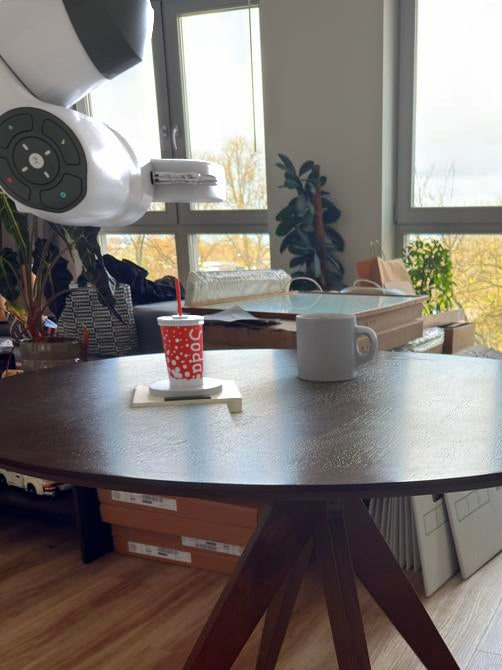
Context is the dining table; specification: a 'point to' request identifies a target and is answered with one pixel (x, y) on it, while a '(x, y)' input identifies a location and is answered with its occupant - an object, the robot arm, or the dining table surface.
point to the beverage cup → (183, 346)
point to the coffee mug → (331, 346)
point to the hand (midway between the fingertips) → (142, 186)
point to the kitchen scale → (188, 394)
